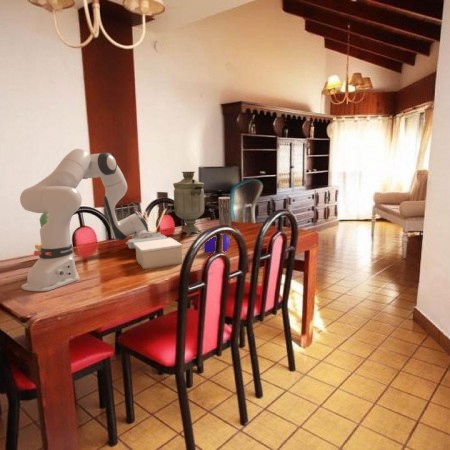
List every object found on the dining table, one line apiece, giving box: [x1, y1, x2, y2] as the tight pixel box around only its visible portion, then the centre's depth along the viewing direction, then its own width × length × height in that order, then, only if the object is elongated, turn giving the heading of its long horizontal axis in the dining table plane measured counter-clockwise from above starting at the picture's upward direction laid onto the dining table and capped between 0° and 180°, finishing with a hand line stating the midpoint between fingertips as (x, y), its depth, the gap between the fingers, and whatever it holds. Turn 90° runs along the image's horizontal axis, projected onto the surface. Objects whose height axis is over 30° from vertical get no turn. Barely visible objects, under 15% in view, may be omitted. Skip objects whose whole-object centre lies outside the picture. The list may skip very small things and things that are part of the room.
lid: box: [132, 236, 183, 252], centre depth 173 cm, size 19×19×1 cm
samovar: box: [165, 171, 205, 236], centre depth 235 cm, size 30×26×40 cm
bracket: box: [203, 234, 230, 254], centre depth 194 cm, size 18×11×12 cm, turn 157°
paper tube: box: [218, 196, 232, 240], centre depth 216 cm, size 7×7×25 cm
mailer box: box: [135, 246, 183, 270], centre depth 172 cm, size 15×18×8 cm
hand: (151, 244), depth 182 cm, fingers closed
